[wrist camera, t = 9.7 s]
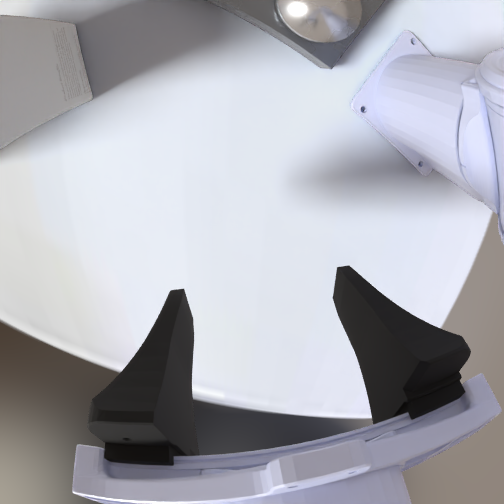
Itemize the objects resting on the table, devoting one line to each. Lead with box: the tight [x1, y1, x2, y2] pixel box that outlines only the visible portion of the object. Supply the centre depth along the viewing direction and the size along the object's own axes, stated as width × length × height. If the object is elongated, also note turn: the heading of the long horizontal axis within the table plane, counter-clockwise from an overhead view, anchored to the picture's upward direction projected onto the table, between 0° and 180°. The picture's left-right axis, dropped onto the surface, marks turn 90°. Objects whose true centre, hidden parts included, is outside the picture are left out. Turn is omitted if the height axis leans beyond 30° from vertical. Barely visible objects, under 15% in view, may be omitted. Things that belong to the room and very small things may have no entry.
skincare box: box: [0, 15, 93, 149], centre depth 9 cm, size 6×4×12 cm
